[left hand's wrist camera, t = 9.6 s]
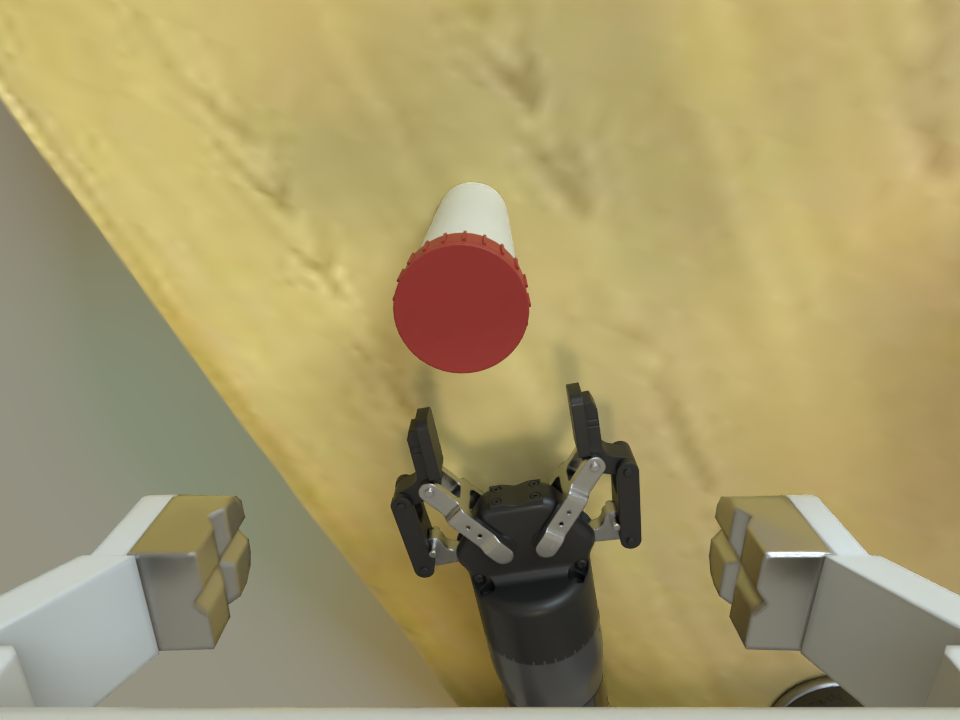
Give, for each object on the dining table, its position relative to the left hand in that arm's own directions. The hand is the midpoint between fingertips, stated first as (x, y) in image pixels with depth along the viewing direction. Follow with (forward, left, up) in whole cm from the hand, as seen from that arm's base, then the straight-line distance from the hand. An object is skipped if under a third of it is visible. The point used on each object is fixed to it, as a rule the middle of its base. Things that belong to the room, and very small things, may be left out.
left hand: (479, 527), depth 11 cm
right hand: (+7, +5, -22) cm, 24 cm away
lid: (0, -1, -11) cm, 11 cm away
